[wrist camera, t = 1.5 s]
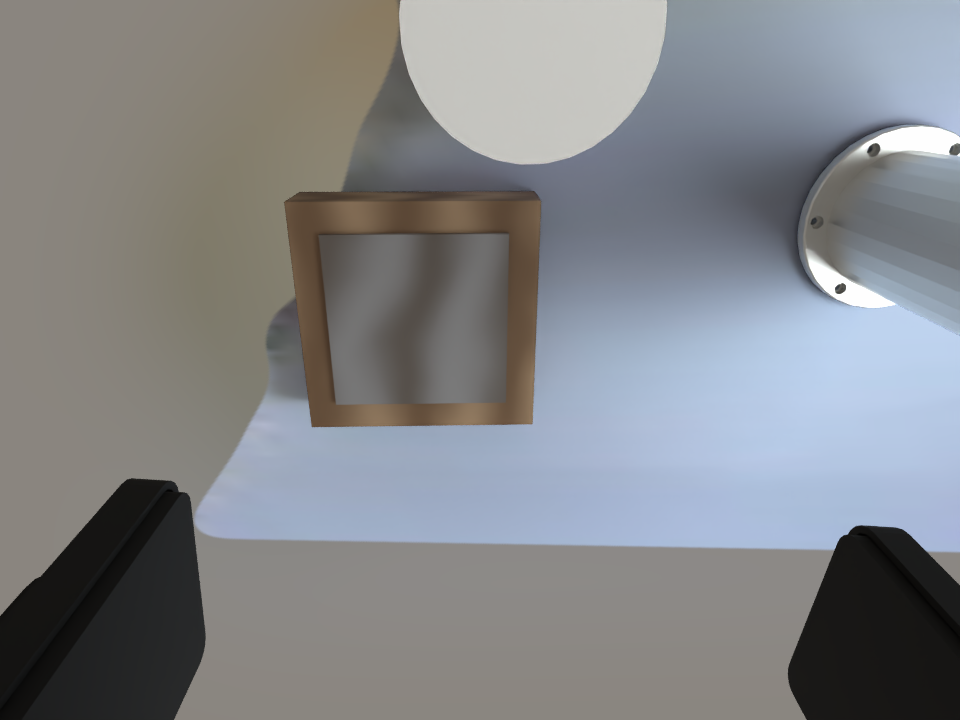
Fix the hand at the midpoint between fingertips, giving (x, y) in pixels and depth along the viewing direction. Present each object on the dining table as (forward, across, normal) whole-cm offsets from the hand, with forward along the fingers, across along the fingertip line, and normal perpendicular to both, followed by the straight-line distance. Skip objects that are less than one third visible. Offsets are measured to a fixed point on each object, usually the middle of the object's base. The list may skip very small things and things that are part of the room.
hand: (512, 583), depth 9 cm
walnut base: (+37, +3, +8) cm, 38 cm away
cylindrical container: (+37, 0, -8) cm, 38 cm away
